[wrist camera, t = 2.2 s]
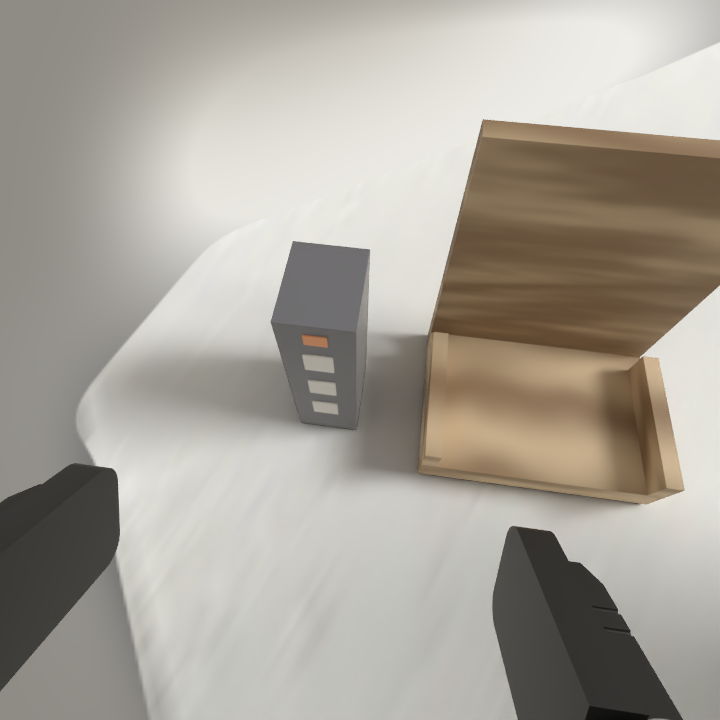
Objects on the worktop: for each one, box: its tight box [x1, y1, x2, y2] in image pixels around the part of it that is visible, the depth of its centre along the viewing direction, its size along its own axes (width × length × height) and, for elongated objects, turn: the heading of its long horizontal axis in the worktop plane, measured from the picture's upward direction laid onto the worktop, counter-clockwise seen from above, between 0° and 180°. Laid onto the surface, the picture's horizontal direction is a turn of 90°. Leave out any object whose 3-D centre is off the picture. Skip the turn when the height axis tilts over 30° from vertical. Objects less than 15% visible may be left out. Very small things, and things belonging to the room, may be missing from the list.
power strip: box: [271, 241, 370, 430], centre depth 28 cm, size 5×4×13 cm
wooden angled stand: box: [418, 120, 720, 504], centre depth 25 cm, size 11×15×18 cm
